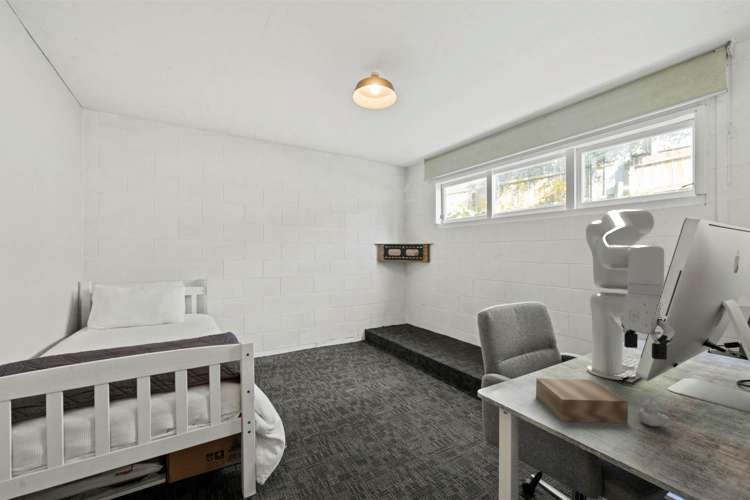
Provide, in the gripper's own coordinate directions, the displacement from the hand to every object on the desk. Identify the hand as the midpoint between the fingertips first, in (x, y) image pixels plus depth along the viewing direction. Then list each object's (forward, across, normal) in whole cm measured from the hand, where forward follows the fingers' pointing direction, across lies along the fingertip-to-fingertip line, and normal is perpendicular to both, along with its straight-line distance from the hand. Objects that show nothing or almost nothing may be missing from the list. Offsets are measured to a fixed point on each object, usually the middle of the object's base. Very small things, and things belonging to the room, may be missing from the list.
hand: (644, 352), depth 84 cm
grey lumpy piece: (+20, 0, +2) cm, 20 cm away
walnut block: (+20, -7, -13) cm, 25 cm away
